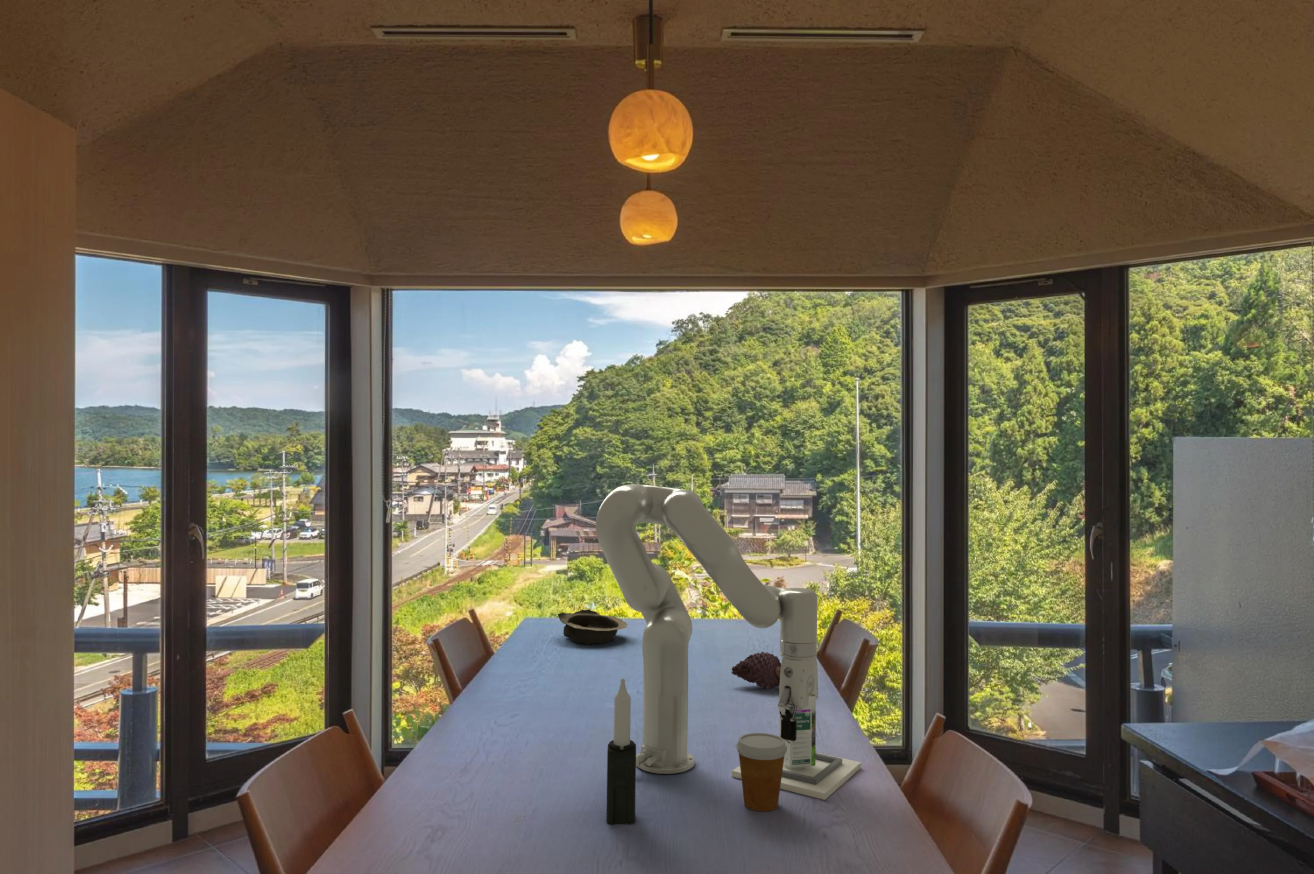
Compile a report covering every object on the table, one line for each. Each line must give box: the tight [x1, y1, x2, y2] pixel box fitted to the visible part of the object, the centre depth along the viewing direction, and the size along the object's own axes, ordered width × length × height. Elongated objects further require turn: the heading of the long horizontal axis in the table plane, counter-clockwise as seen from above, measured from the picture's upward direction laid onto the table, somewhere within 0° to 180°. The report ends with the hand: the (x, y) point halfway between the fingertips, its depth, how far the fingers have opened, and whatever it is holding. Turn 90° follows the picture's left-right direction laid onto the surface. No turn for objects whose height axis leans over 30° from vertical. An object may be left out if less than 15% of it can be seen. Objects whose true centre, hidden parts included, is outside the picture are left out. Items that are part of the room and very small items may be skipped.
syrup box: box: [779, 694, 817, 768], centre depth 175 cm, size 6×6×14 cm
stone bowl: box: [557, 609, 628, 645], centre depth 296 cm, size 25×25×9 cm
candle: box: [605, 678, 637, 825], centre depth 152 cm, size 5×5×25 cm
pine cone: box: [731, 651, 781, 689], centre depth 238 cm, size 18×10×10 cm, turn 83°
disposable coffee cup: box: [735, 732, 787, 812], centre depth 158 cm, size 10×10×12 cm
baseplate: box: [731, 752, 862, 801], centre depth 174 cm, size 20×20×2 cm
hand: (797, 733), depth 175 cm, fingers closed on syrup box, 7 cm apart
